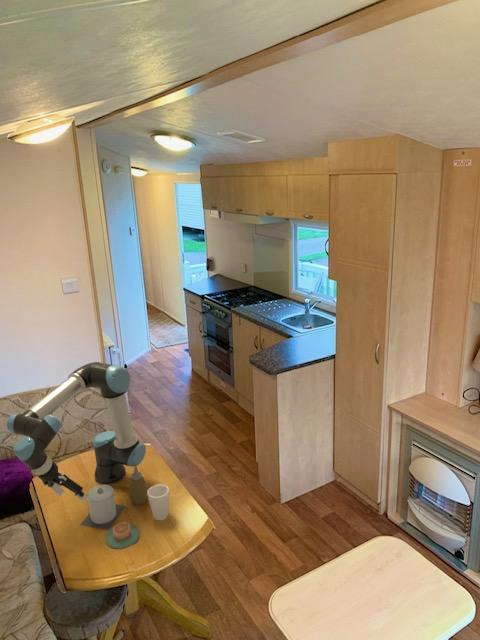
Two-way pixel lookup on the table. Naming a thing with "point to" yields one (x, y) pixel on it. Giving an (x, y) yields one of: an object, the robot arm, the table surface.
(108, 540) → the green and pink dish
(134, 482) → the squeeze bottle
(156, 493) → the foam cup
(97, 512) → the lidded canister
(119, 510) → the mat
